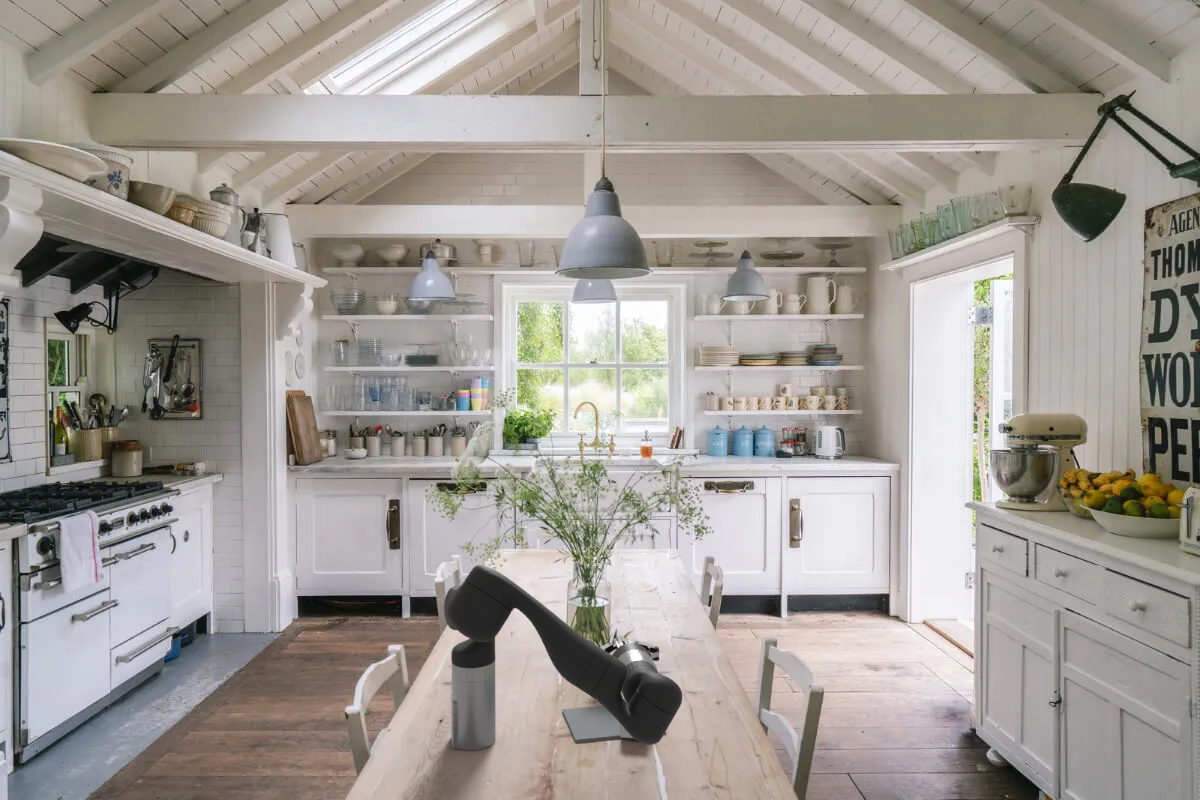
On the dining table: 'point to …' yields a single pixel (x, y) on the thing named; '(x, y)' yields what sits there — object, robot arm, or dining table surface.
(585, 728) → the rubber mat
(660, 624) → the dining table surface
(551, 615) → the robot arm
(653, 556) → the dining table surface
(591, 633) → the house plant
